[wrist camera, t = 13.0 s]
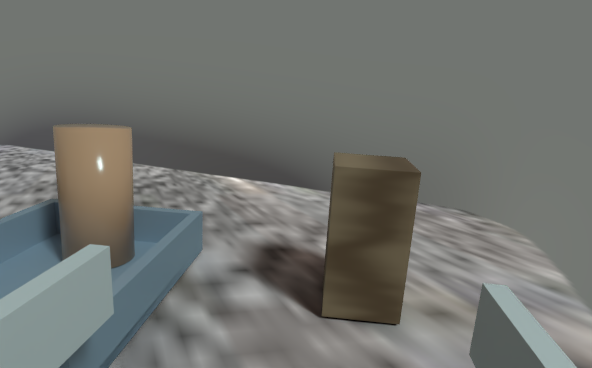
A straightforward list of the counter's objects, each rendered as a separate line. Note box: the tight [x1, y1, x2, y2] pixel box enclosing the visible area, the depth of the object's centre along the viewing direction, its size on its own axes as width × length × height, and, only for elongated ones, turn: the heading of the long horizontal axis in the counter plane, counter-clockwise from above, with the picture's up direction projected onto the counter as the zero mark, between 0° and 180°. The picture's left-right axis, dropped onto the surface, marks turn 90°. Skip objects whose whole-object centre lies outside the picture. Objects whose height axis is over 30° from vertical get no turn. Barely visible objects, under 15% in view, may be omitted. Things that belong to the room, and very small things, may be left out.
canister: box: [53, 124, 135, 268], centre depth 29 cm, size 5×5×10 cm
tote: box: [0, 199, 202, 368], centre depth 26 cm, size 14×18×4 cm
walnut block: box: [322, 153, 421, 324], centre depth 26 cm, size 5×5×10 cm
